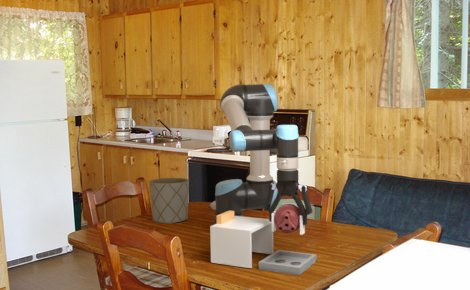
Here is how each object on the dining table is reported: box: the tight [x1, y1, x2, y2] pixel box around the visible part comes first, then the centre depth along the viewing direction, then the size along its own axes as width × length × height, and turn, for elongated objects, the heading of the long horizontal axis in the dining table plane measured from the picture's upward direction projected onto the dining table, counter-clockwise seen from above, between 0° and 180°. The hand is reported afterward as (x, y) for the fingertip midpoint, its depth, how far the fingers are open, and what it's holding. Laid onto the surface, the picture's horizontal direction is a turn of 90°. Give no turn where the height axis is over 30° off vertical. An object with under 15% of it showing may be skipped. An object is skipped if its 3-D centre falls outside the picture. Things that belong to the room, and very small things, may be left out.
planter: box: [148, 177, 190, 225], centre depth 262 cm, size 19×19×20 cm
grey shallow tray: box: [258, 249, 318, 276], centre depth 190 cm, size 15×17×2 cm
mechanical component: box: [274, 203, 302, 234], centre depth 188 cm, size 12×10×10 cm
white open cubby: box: [209, 210, 274, 269], centre depth 198 cm, size 16×19×16 cm
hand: (288, 232), depth 189 cm, fingers closed on mechanical component, 10 cm apart
